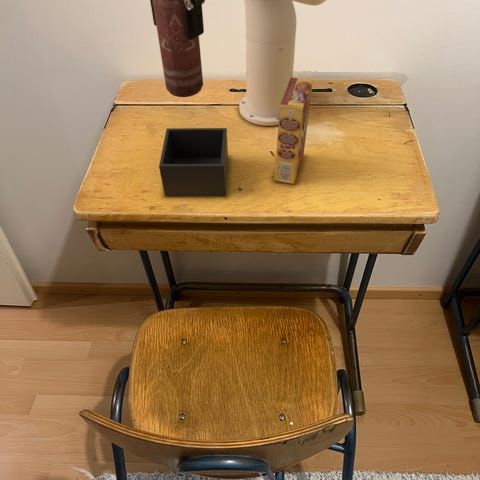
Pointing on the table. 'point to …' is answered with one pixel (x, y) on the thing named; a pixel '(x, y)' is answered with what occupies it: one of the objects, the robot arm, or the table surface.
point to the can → (177, 50)
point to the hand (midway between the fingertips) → (178, 28)
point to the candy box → (292, 129)
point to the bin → (194, 162)
